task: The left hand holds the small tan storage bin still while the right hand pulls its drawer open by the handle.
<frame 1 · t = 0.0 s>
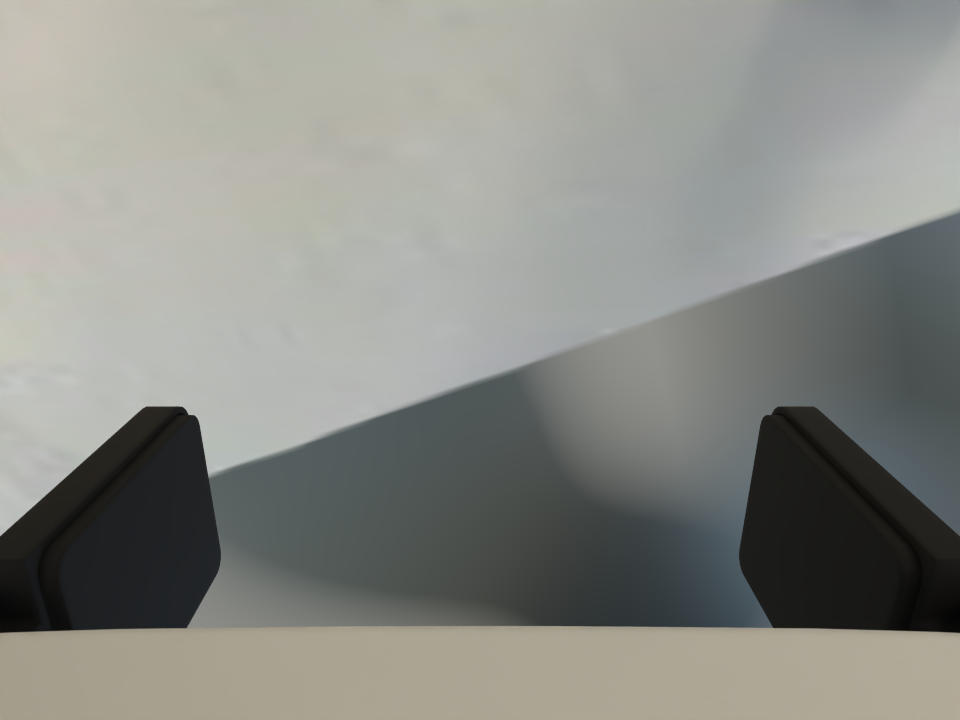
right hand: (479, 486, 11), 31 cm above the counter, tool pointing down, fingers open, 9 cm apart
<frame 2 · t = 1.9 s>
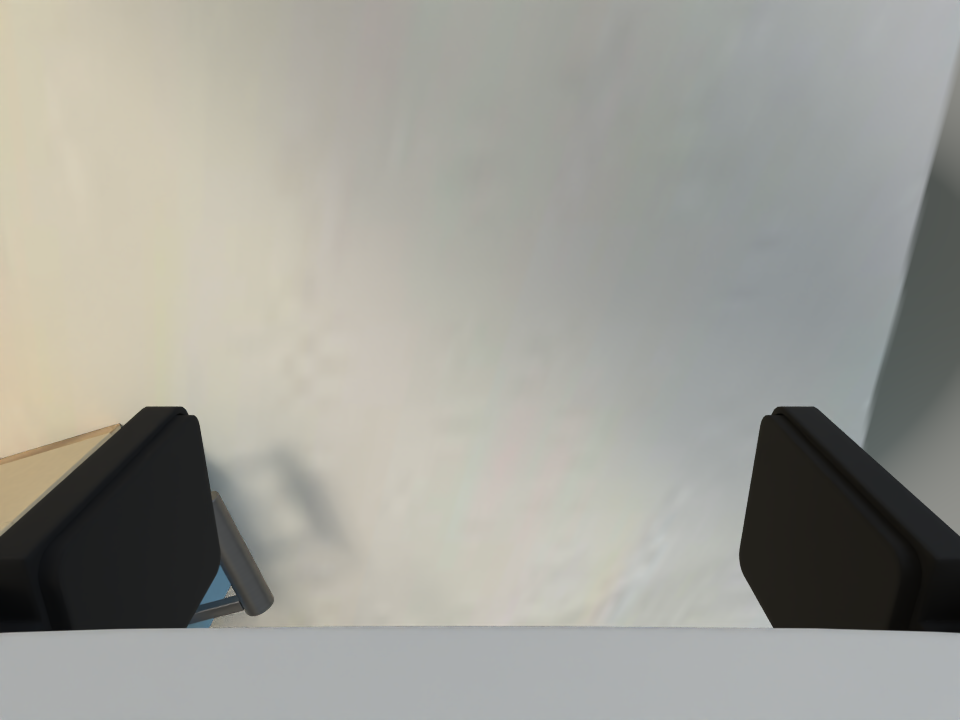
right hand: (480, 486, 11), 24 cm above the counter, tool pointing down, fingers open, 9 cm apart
tan storage bin: (8, 551, 41), on the counter
drawer: (40, 585, 35), point 5 cm above the counter, slide at 1.3 cm
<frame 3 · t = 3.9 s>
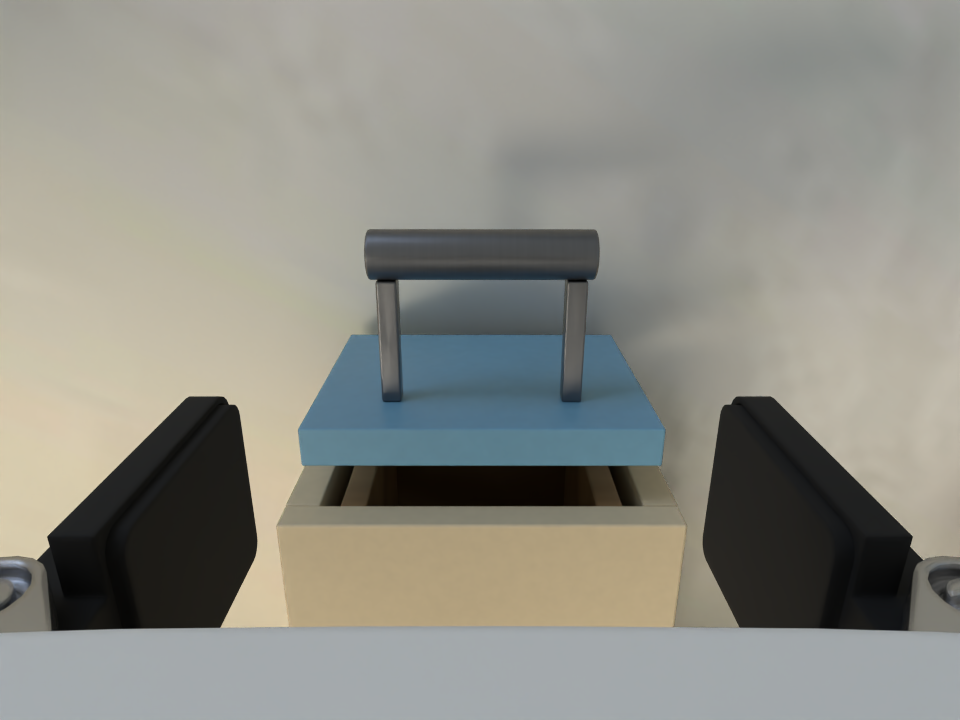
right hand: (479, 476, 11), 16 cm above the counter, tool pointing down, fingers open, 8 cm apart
tan storage bin: (480, 586, 32), on the counter, touching left hand
drawer: (481, 554, 25), point 5 cm above the counter, slide at 1.3 cm
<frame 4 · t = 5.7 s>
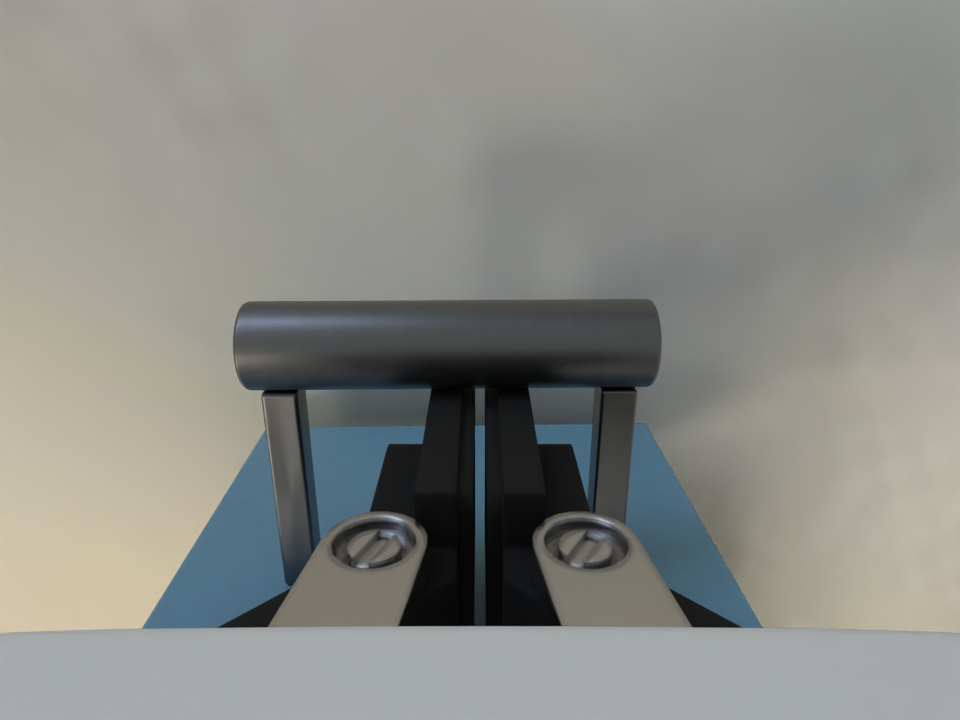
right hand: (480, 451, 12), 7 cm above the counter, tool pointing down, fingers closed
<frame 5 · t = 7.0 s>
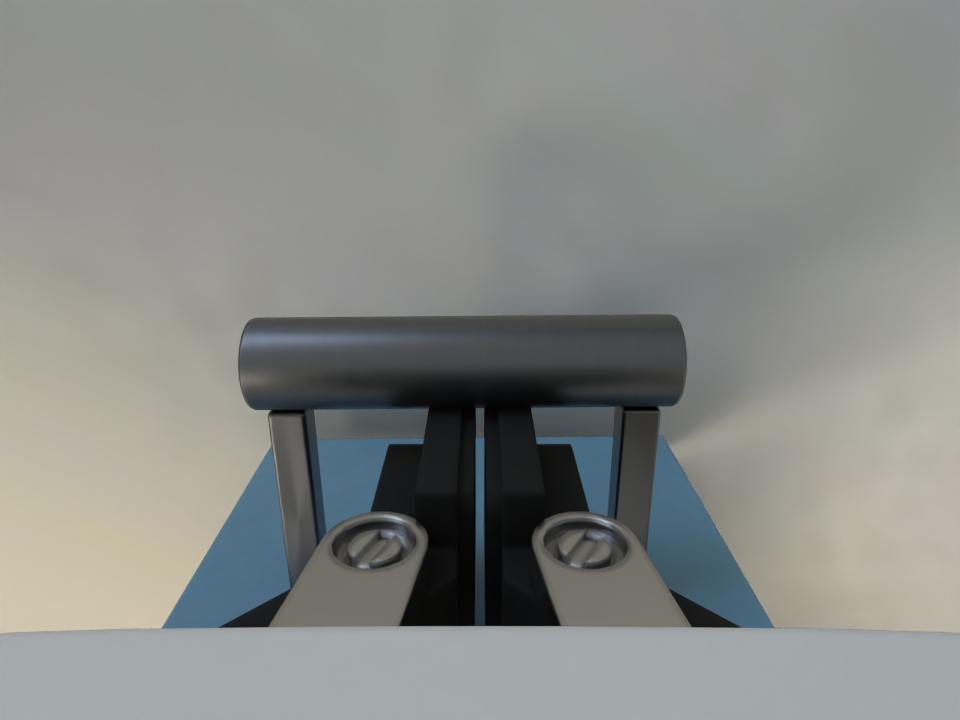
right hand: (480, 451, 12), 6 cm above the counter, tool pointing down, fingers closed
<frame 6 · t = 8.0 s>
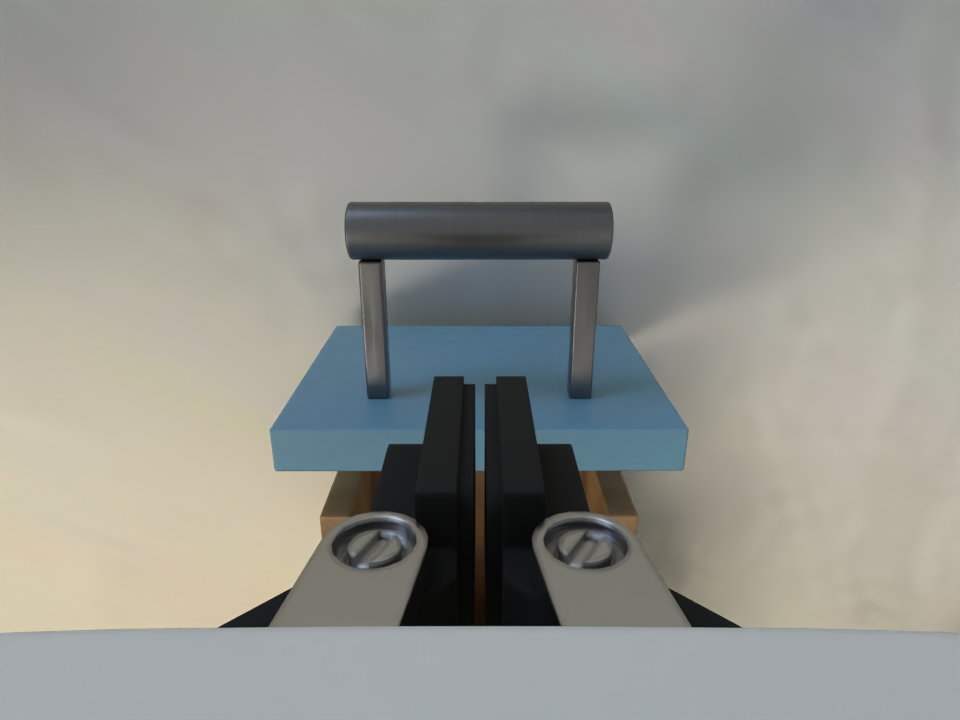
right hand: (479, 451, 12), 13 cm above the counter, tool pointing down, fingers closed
drawer: (479, 567, 23), point 5 cm above the counter, slide at 7.8 cm
when the left hand's fingers open (6 cm above the counter, at t = 8.7 s): tan storage bin stays where it is, on the counter.
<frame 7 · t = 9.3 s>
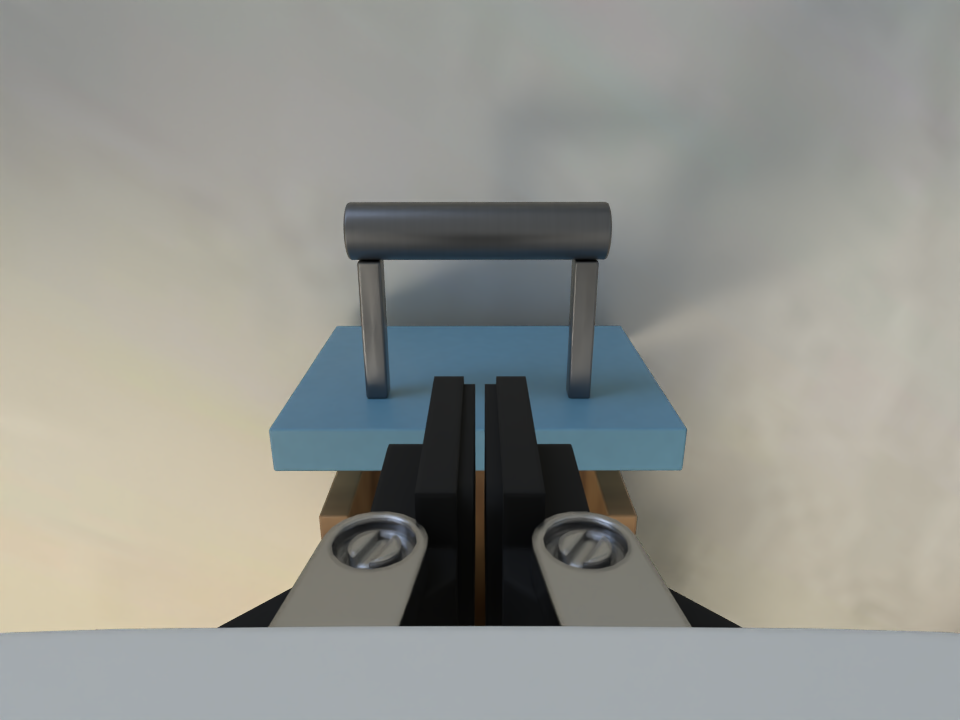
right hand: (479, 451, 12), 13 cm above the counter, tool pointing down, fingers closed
drawer: (478, 567, 23), point 5 cm above the counter, slide at 7.8 cm
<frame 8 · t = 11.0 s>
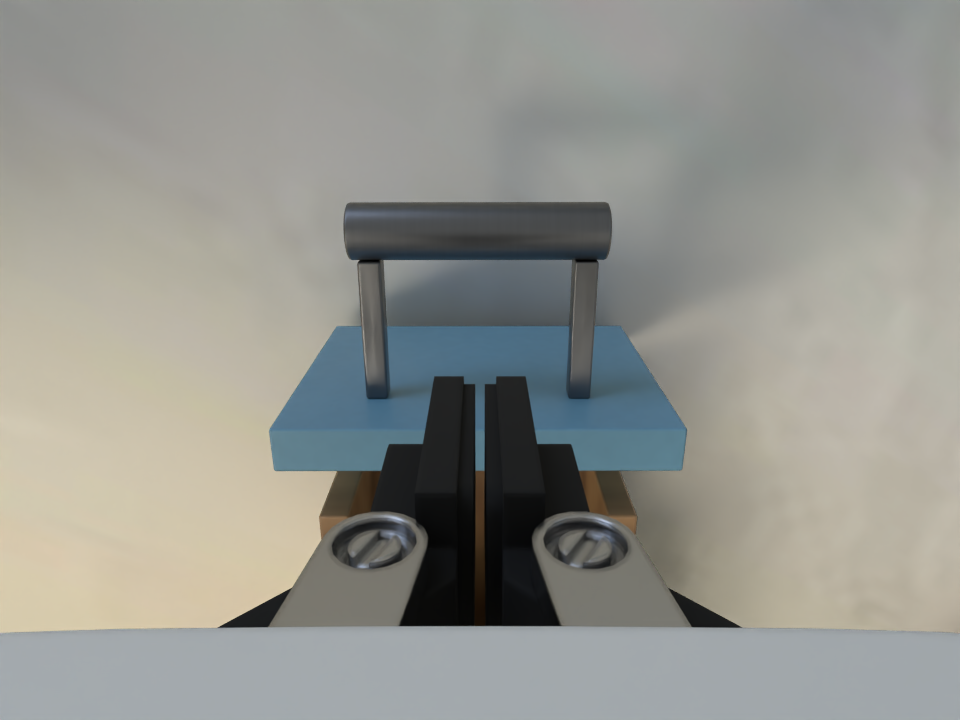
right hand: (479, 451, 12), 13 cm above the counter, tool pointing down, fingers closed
drawer: (478, 567, 23), point 5 cm above the counter, slide at 7.8 cm
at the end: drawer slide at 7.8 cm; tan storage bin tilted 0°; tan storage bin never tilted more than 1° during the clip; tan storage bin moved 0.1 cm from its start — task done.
